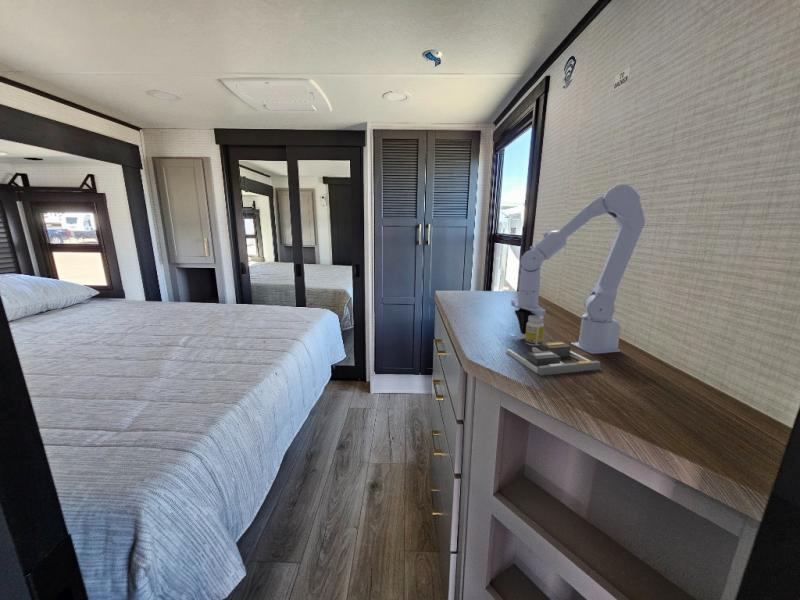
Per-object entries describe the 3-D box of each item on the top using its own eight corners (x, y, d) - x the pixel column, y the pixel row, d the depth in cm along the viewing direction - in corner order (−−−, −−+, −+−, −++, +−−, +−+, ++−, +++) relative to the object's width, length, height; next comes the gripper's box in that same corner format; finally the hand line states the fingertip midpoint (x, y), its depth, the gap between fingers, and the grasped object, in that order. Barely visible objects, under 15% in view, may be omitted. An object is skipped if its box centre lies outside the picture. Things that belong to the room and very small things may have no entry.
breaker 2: (559, 350, 86) (560, 340, 85) (569, 356, 82) (571, 345, 81) (538, 352, 84) (540, 342, 84) (548, 357, 81) (549, 347, 80)
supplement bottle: (538, 341, 94) (541, 314, 92) (544, 346, 89) (547, 319, 88) (522, 340, 94) (525, 314, 93) (527, 346, 90) (530, 318, 88)
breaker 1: (548, 360, 79) (549, 349, 78) (559, 367, 75) (560, 355, 74) (526, 362, 77) (527, 351, 77) (536, 369, 74) (537, 358, 73)
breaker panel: (558, 349, 88) (559, 341, 87) (599, 369, 74) (600, 361, 74) (506, 353, 84) (507, 345, 84) (539, 376, 71) (540, 367, 70)
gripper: (504, 286, 99) (501, 327, 102) (531, 295, 85) (527, 341, 88) (523, 286, 101) (520, 325, 103) (554, 294, 87) (548, 340, 90)
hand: (524, 333), depth 96 cm, fingers closed
